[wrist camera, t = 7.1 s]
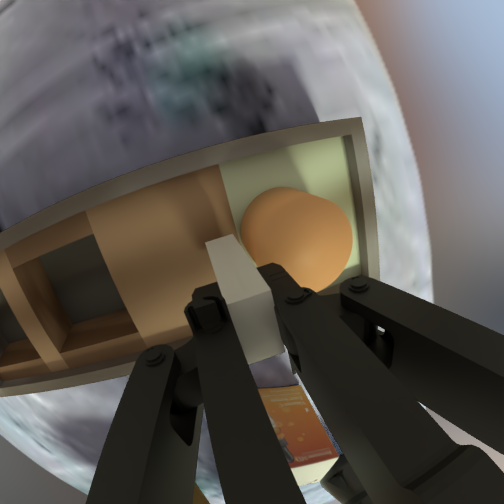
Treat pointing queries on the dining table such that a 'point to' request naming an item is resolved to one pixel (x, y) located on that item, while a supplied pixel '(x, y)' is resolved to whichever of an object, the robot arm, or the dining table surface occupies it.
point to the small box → (299, 433)
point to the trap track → (158, 250)
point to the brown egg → (298, 235)
